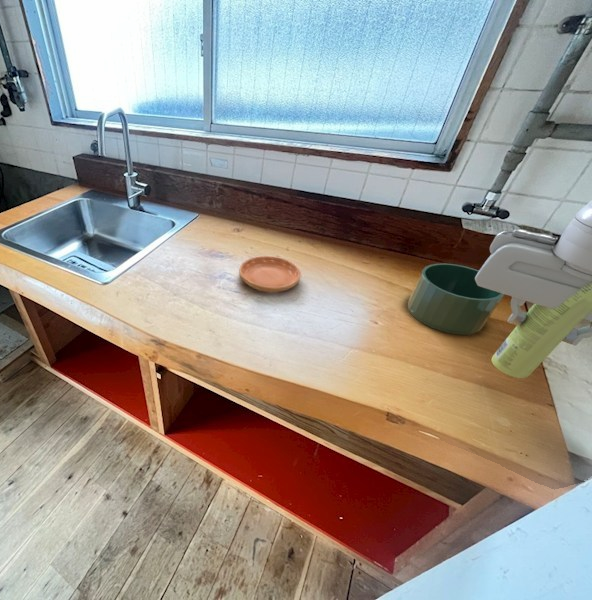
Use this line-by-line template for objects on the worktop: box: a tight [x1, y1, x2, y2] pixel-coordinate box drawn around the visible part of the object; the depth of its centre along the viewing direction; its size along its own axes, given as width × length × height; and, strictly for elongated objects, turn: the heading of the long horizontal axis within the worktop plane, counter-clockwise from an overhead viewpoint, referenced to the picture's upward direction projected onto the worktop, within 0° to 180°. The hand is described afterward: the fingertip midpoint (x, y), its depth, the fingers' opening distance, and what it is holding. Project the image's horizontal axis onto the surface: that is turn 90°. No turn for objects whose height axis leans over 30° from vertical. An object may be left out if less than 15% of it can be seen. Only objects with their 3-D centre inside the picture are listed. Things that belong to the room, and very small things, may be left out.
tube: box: [491, 283, 592, 379], centre depth 47 cm, size 6×5×20 cm
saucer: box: [238, 255, 302, 294], centre depth 86 cm, size 16×16×3 cm
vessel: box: [407, 262, 505, 336], centre depth 70 cm, size 14×14×9 cm
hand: (540, 331), depth 48 cm, fingers closed on tube, 5 cm apart
